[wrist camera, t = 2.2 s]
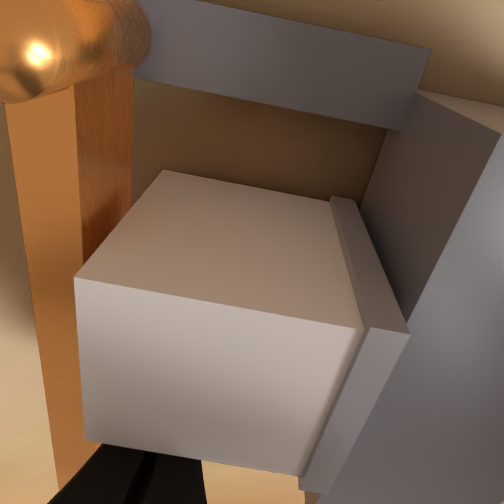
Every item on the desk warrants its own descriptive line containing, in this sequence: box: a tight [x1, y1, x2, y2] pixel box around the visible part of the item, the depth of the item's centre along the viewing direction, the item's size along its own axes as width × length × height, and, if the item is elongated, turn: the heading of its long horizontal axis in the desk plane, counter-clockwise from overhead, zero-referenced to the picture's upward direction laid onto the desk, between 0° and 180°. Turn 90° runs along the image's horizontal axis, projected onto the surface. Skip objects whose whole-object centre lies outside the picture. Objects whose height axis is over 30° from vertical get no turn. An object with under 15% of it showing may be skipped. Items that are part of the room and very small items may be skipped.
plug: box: [74, 170, 411, 495], centre depth 9 cm, size 7×4×5 cm, turn 80°
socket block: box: [134, 0, 504, 504], centre depth 9 cm, size 11×11×5 cm
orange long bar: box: [0, 0, 152, 491], centre depth 9 cm, size 12×1×4 cm, turn 170°
